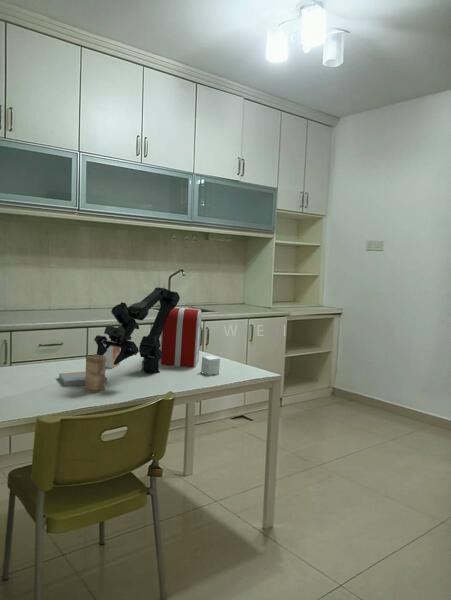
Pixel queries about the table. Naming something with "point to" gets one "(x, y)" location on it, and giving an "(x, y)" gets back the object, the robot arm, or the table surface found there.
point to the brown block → (95, 373)
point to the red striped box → (181, 338)
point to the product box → (210, 365)
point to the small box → (111, 356)
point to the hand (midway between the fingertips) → (105, 362)
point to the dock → (74, 378)
